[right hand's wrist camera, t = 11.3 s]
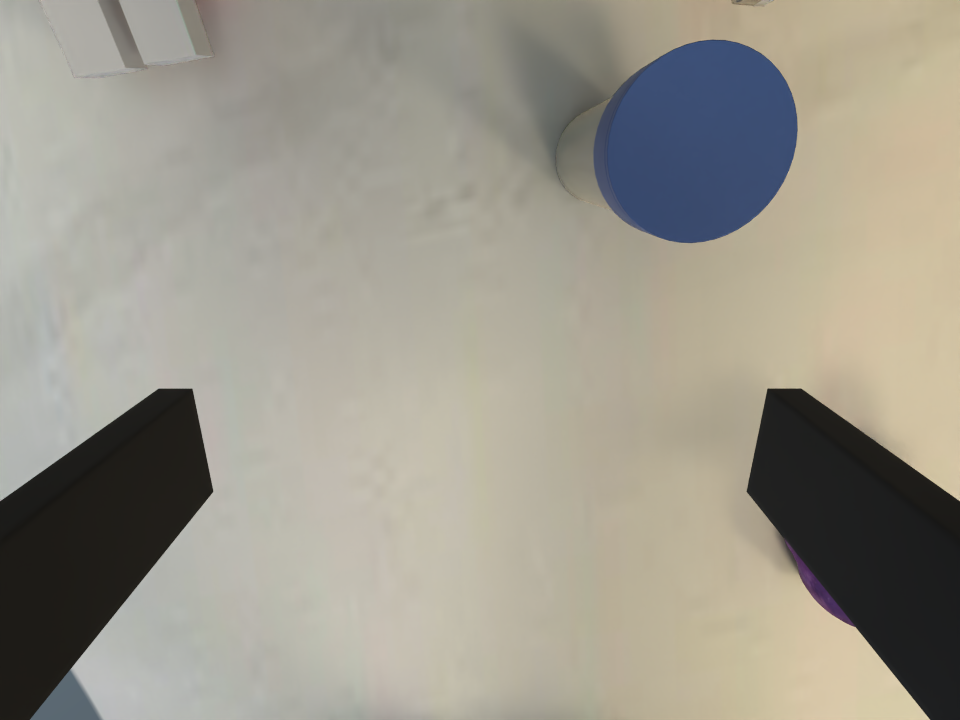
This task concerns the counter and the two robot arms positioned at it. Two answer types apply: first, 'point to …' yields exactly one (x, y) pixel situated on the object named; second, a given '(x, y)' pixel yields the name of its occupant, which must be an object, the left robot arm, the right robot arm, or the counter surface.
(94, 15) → the toy
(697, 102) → the lid
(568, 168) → the grey tall cylinder
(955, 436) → the counter surface
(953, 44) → the counter surface
